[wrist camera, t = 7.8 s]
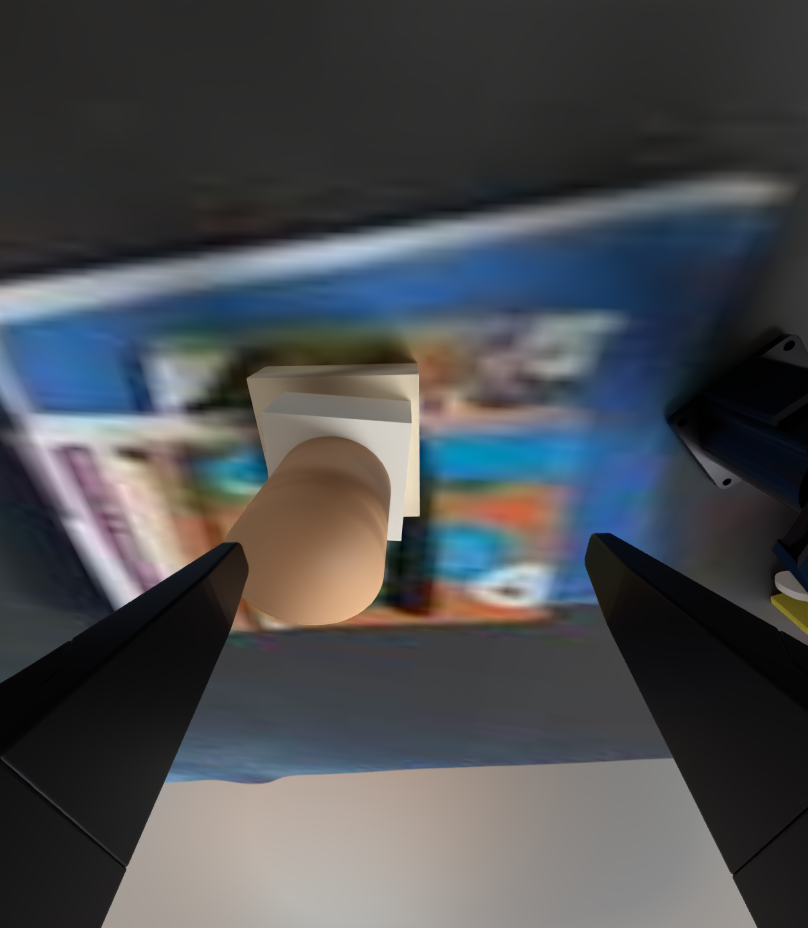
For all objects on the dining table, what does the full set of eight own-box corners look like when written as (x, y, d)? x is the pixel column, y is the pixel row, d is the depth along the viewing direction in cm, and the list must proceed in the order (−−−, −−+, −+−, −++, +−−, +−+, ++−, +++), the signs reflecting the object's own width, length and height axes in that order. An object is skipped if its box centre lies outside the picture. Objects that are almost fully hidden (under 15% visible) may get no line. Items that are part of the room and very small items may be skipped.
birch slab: (417, 361, 19) (418, 374, 16) (417, 488, 23) (419, 516, 20) (268, 364, 19) (246, 378, 16) (293, 490, 23) (279, 518, 20)
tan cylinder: (414, 487, 15) (416, 567, 11) (343, 551, 17) (320, 645, 13) (323, 411, 14) (283, 468, 9) (255, 490, 16) (193, 571, 11)
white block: (411, 401, 17) (411, 423, 14) (401, 505, 20) (400, 540, 17) (284, 391, 17) (260, 412, 14) (292, 498, 19) (274, 532, 17)
